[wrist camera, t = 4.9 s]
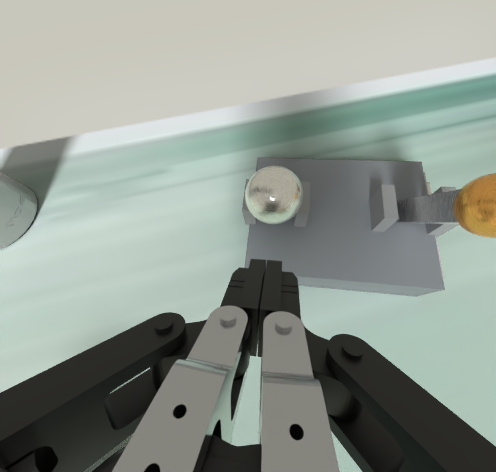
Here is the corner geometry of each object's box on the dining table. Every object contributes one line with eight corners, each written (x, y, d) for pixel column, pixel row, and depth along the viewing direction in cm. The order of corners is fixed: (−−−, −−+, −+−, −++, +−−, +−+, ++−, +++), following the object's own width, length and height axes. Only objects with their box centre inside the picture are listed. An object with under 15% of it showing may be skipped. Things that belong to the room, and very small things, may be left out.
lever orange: (382, 229, 21) (481, 237, 11) (385, 193, 21) (491, 164, 10) (421, 232, 21) (565, 242, 10) (425, 194, 20) (577, 166, 10)
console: (244, 280, 24) (234, 263, 18) (256, 180, 28) (251, 138, 22) (422, 297, 22) (480, 284, 16) (406, 185, 26) (447, 141, 20)
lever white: (258, 222, 22) (238, 222, 12) (260, 187, 22) (242, 158, 12) (292, 224, 22) (303, 226, 12) (295, 189, 22) (308, 159, 11)
